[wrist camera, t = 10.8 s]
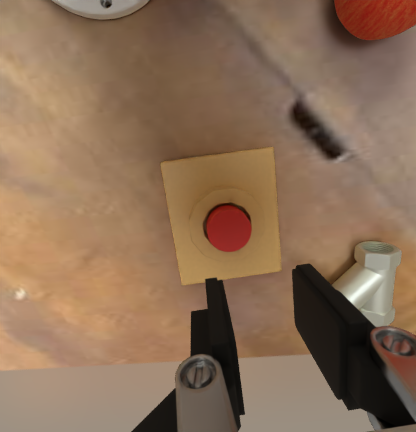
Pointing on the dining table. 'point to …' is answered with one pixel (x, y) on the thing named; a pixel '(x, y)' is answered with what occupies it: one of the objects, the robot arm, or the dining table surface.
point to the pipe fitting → (372, 281)
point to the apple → (376, 17)
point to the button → (228, 228)
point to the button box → (216, 197)
